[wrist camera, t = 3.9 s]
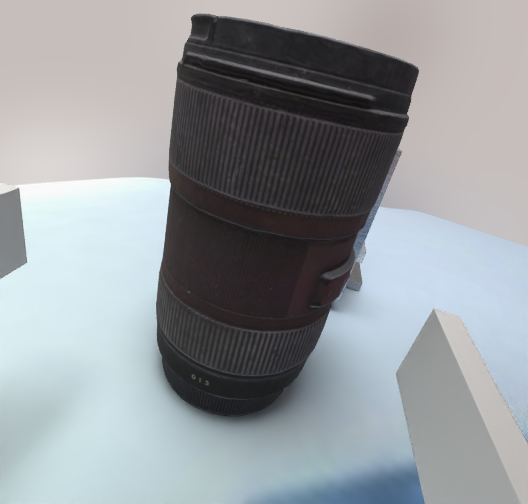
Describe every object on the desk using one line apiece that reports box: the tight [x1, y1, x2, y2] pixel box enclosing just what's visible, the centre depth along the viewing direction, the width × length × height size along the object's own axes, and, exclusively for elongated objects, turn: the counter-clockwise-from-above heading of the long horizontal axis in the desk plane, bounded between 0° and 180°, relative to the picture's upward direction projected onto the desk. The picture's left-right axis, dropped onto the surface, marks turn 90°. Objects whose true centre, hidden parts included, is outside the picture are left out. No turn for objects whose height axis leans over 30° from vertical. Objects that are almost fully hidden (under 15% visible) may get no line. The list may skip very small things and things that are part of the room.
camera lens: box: [156, 14, 419, 416], centre depth 15 cm, size 8×8×15 cm
